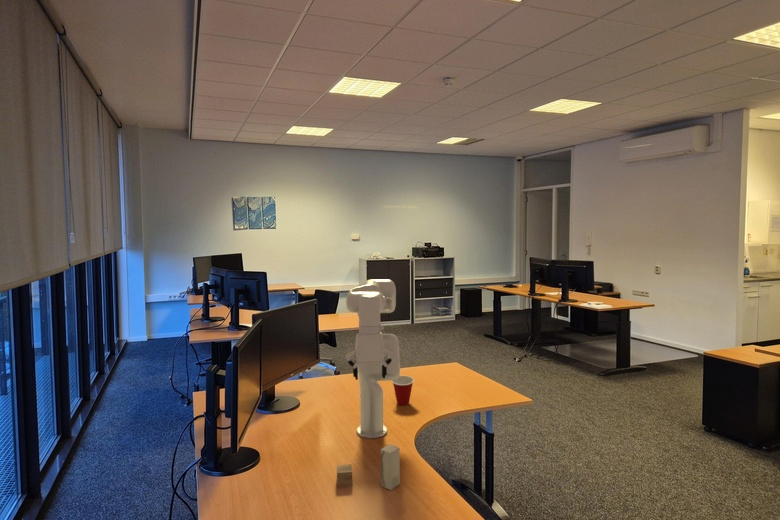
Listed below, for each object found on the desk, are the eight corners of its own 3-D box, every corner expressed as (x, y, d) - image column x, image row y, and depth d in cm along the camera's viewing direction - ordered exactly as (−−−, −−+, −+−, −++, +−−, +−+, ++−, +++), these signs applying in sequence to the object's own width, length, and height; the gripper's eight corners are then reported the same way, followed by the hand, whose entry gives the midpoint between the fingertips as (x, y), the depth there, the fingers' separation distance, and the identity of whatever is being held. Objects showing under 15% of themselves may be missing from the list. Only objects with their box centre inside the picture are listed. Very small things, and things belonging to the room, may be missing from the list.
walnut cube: (336, 479, 161) (336, 465, 161) (351, 478, 162) (351, 464, 161) (337, 487, 156) (337, 473, 156) (352, 486, 157) (352, 471, 156)
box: (390, 479, 161) (390, 443, 160) (400, 484, 158) (400, 447, 157) (380, 486, 156) (379, 449, 155) (390, 491, 154) (390, 453, 153)
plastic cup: (389, 406, 224) (389, 382, 224) (394, 398, 235) (394, 374, 234) (411, 408, 222) (411, 383, 221) (416, 400, 232) (416, 376, 231)
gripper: (392, 327, 171) (392, 373, 172) (344, 328, 168) (344, 376, 169) (395, 331, 164) (396, 379, 164) (345, 332, 161) (346, 382, 162)
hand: (370, 378), depth 167 cm, fingers open, 9 cm apart
